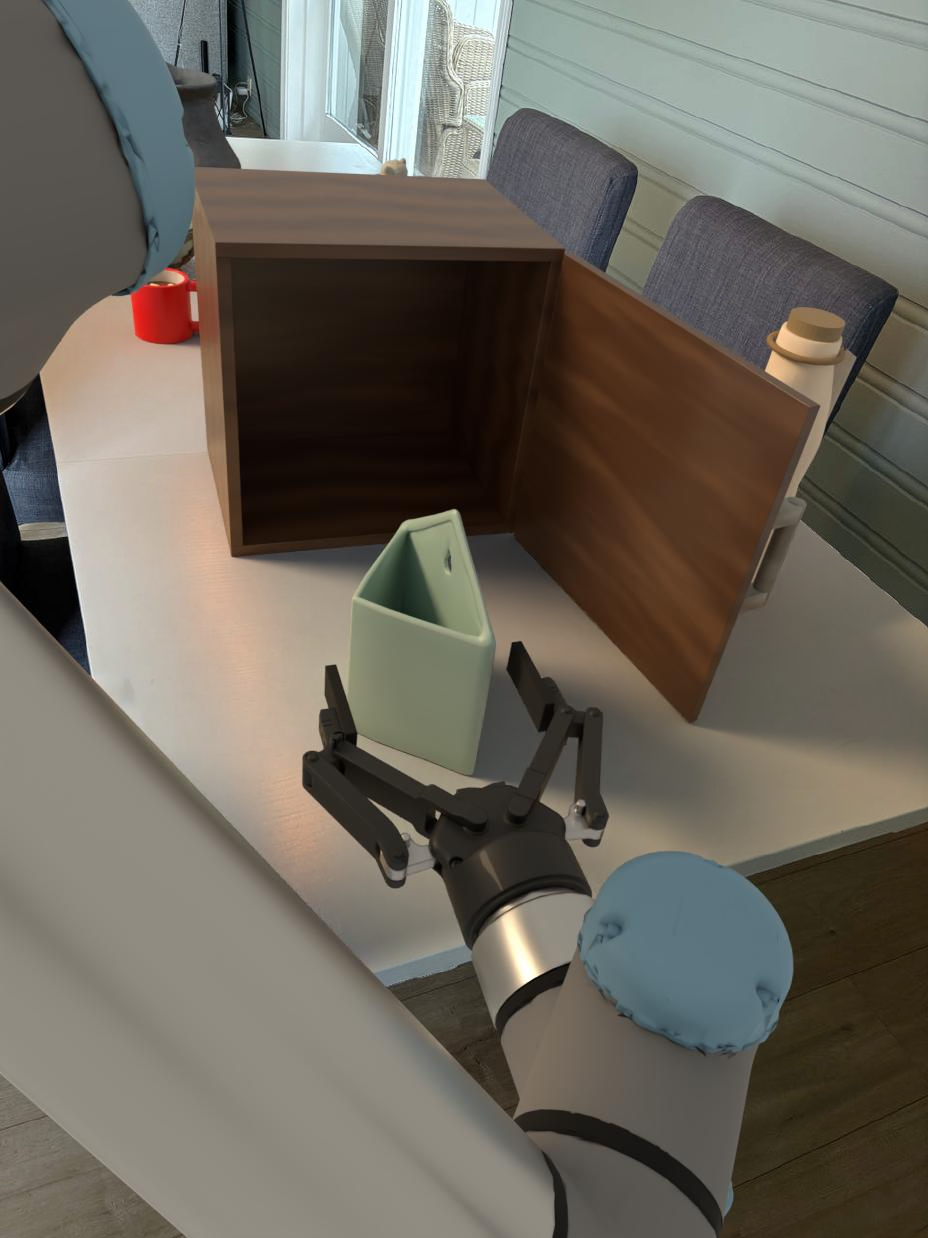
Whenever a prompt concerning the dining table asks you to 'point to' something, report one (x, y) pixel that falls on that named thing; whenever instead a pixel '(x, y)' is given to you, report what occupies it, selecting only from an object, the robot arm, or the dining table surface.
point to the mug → (164, 308)
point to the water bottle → (810, 372)
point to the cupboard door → (658, 479)
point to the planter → (422, 646)
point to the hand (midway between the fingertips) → (424, 666)
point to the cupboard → (366, 352)
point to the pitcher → (202, 119)
